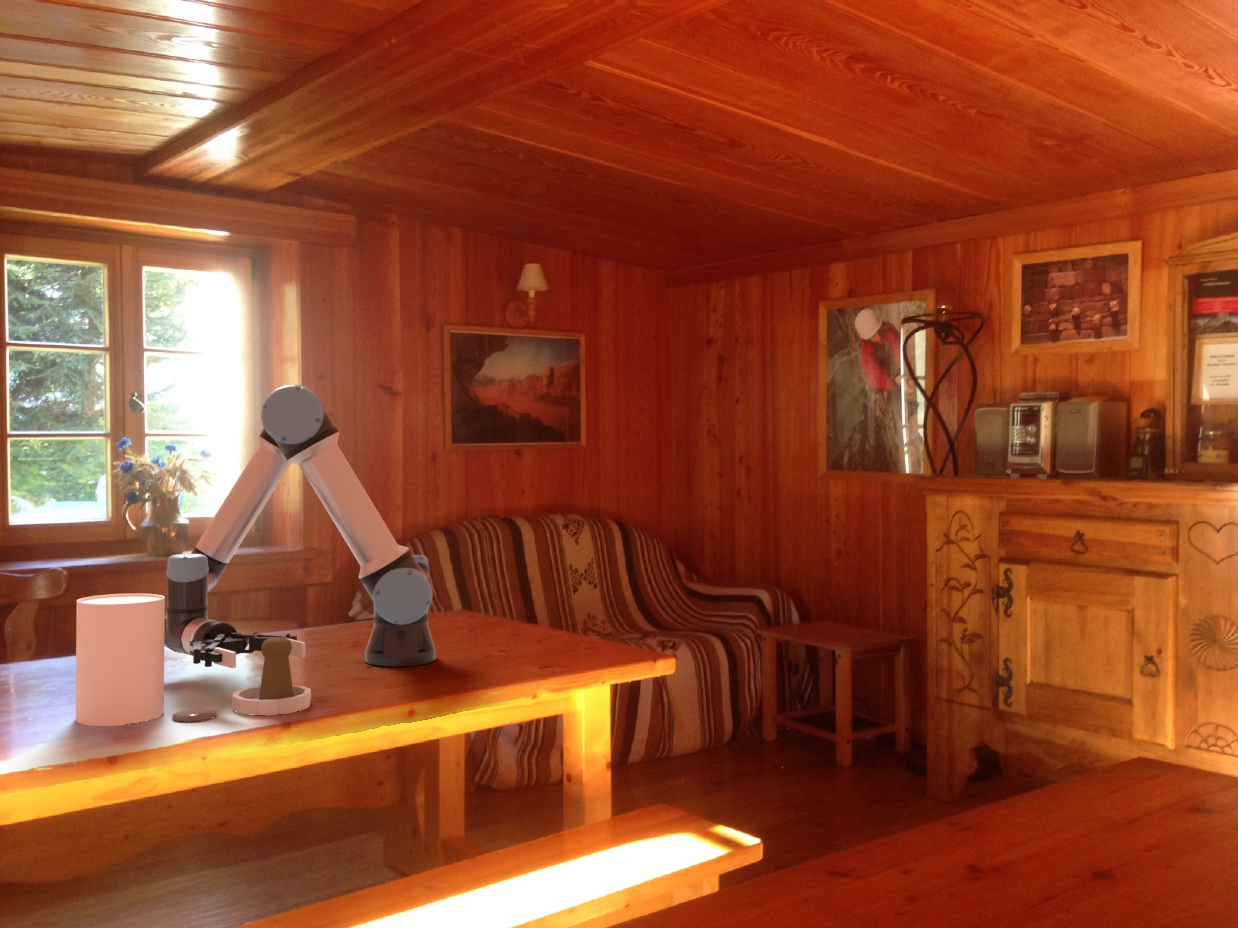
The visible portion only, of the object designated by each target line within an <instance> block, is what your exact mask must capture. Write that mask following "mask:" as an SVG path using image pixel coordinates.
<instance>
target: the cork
mask: <svg viewBox="0 0 1238 928" xmlns="http://www.w3.org/2000/svg"><path fill="white" fill-rule="evenodd" d="M291 650H292V644H291V642H290V640H289V639H287V638H281V637H276V638H270V639H267V640H265V641H264V642H263V643H262V647H261V651H260V652H261V654H262V656H263V657H264V660H263V667H262V668H263V669H262V672H261V673H262V674H261V681H260V686H261V687H260V695H259V700H270V699H282V698H289V697H294V695H293V687H292V685H293V681H292V673H291V666H290V658H289V657H290V656H291V655H290V653H291Z"/></svg>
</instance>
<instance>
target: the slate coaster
mask: <svg viewBox="0 0 1238 928" xmlns="http://www.w3.org/2000/svg"><path fill="white" fill-rule="evenodd" d="M216 715H217V716H218V713H217V710H215V709H214V708H213V709H211V708H191V709H184V710H179V711H176V712H174V713H172V715H171V718H172V720H173V721H174V720H176V721H175V722H177V721H184V722H183V723H194V722H193V721H199V722H202V721H201V720H205V721H209V720H208V719H210V718H212V717H215V718H216V717H217V716H216ZM210 720H211V719H210ZM191 721H192V722H191Z"/></svg>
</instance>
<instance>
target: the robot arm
mask: <svg viewBox="0 0 1238 928" xmlns="http://www.w3.org/2000/svg"><path fill="white" fill-rule="evenodd" d="M326 410H327V409H326V408H325V405H324V403H323V401H322V400H321V399H320V397H319V396H318V395H317V394H316V393H315V392H314V391H313V390H312V389H310V388H309V387H306V386H304V385H301V384H288V385H287V384H286V385H283V386H280V387H277V388H276V389H274V390H273V391H271V393H270V394H268V396H267V397H266V399H265V400H264V402H263V404H262V407H261V412H260V413H261V414H260V415H261V423H262V426H263V429H262V431H261V433H260V434H259V436H258V441H259V445H258V447H257V448H256V449H255V452H254V453H253V454H252V456H251V458H249V461H248V463H247V464H246V465H245V467H244V469H243V470H242V472H241V473H240V475H239V476H238V478H237V480H236V482H235V483H234V485H233V486H232V488H231V489H230V491H229V492H228V494H227V496H226V497H225V499H224V501H223V502H222V504H221V505H220V507H219V508H218V510H217V512H216V513H215V515H214V516H213V518H212V520H211V521H210V522H209V524H208V526H207V528H206V529H205V531H204V532H203V534H202V536H201V537H200V538H199V540H198V542H197V543H196V546H194V548H193V549H192V551H191V552H190V553H180V554H179V553H178V554H172V555H170V556H168V558H167V568H166V571H165V575H166V610H165V613H166V614H165V625H164V648H167V649H169V650H170V651H173V652H175V653H176V652H177V654H184V655H189V656H192V658H193V659H192V661H193V665H198V664H201V663H202V662H204V667H205V668H210V667H213V664H215V665H219V666H221V667H226V668H229V669H235V668H237V655H239V654H252V653H254V652H262V651H261V647H262V643H263V642H264V641H265V640H267V639H270V638H276V637H281V638H287V639H289V640H290V642H291V644H292V650H291V653H290V655H289V656H294V657H298V658H306V642H305V641H302V640H298V636H297V635H291V633H286V634H285V635H283V634H270V633H269V634H268V633H267V634H266V633H259V632H253V633H250V634H249V633H247V634H246V633H241V632H238V631H237V630H236V628H235V627H234V626H233V625H232V624H230V623H228V622H223V621H219V620H216V619H212V618H211V619H210V618H208V611H209V609H208V607H209V606H208V601H209V600H208V599H209V598H208V597H209V596H208V595H209V592H211V591H213V589H215V587H216V586H217V585H218V583H219V582H220V580H221V576H222V575H223V573H224V572H225V570H226V568H227V566H228V565H229V563H230V562H231V561H232V558H233V557H234V555H235V553H236V552H237V550H238V549H239V547H240V546H241V544H242V542H243V541H244V539H245V537H246V536H247V534H248V533H249V531H250V529H252V526H253V525H254V523H255V522H256V520H257V519H258V517H259V515H260V514H261V513H262V511H263V509H264V507H265V506H266V504H267V503H268V501H269V499H270V498H271V497H272V495H273V493H274V492H275V490H276V488H277V487H278V485H279V483H280V481H281V480H282V479H283V477H284V475H285V474H286V472H287V471H288V469H289V467H290V466H291V464H293V465H296V466H299V468H300V469H301V471H302V473H303V474H304V475H305V477H306V479H307V481H308V482H309V484H310V485H311V487H312V488H313V491H314V492H315V494H316V495H317V497H318V499H319V500H320V502H321V504H322V505H323V507H324V509H325V510H326V512H327V513H328V515H329V517H330V518H331V520H332V522H333V523H334V525H335V526H336V528H337V530H338V531H339V533H340V534H341V536H342V538H343V539H344V542H345V543H346V544H347V546H348V547H349V550H350V551H351V552H352V554H353V556H354V558H355V560H356V561H357V562H358V564H359V567H360V569H359V574H358V579H359V581H360V582H361V583H362V586H363V587H364V588H365V590H366V592H367V594H368V595H369V597H370V599H371V601H372V604H373V627H372V630H371V632H370V633H371V634H370V636H369V639H368V642H367V645H366V648H365V652H364V655H365V656H364V662H366V663H367V664H368V665H373V666H382V667H410V666H411V667H412V666H413V667H414V666H420V665H425V664H429V663H432V662H434V661H436V655H437V653H436V652H437V651H436V650H437V649H436V646H435V642H434V640H433V637H432V633H431V631H430V627H429V619H428V618H429V609H430V606H431V605H432V601H433V596H434V595H433V586H432V583H431V581H430V580H429V571H430V565H429V559H428V557H427V556H425V555H421V554H413V553H412V552H411V550H410V548H409V547H408V546H404V545H400V544H399V543H397V541H396V539H395V537H394V536H393V534H392V532H391V531H390V529H389V528H388V526H387V524H386V523H385V521H384V519H383V518H382V516H381V514H380V513H379V511H378V510H377V508H376V507H375V505H374V503H373V501H372V500H371V498H370V496H369V494H368V493H367V491H366V489H365V487H364V485H362V483H361V482H360V480H359V478H358V476H357V474H356V473H355V472H354V470H353V468H352V467H351V464H350V463H349V461H348V460H347V459H346V457H345V455H344V453H343V452H342V450H341V449H340V446H339V445H338V441H339V436H340V432H339V431H338V428H337V427H336V425H335V424H334V422H333V421H332V420H333V419H331V416H330V415H329V414H328V412H327V411H326ZM247 647H248V649H247ZM201 661H202V662H201Z"/></svg>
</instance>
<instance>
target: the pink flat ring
mask: <svg viewBox="0 0 1238 928" xmlns="http://www.w3.org/2000/svg"><path fill="white" fill-rule="evenodd" d="M260 687H261V685H256V686H249V687H245V688H242V689H239V690H236V691H234V692H233V694H232V695H231V710H234V711H237V712H238V713H237V712H236V713H237V714H239V713H241V714H240V715H244V714H253V715H252V716H254V715H266V716H270V715H269V714H273V715H272V716H275V715H274V714H282V715H287V714H292V713H293V712H294V713H298V712H297V711H299V712H301V711H303V710H306V709H309V708H310V706H311V702H312V701H311V699H312V698H311V697H312V692H311V691H312V689H311V688H309V687H307V686H304V685H299V684H298V685H297V684H292V687H293V695H294V697H289V698H282V699H270V700H259V695H260ZM308 707H309V708H308ZM234 711H233V712H234Z"/></svg>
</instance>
